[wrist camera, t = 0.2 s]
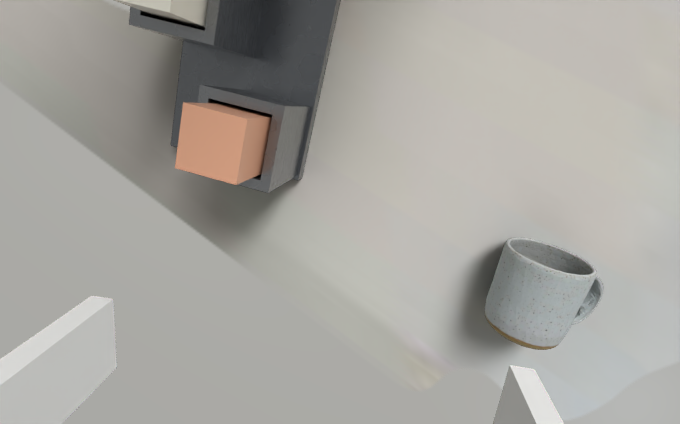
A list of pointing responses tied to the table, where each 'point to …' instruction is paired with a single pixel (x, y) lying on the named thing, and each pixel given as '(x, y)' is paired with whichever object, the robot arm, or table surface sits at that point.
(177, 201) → the table surface
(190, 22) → the ivory button
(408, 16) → the table surface
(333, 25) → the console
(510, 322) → the ceramic mug
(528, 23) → the table surface
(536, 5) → the table surface
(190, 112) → the terracotta button
